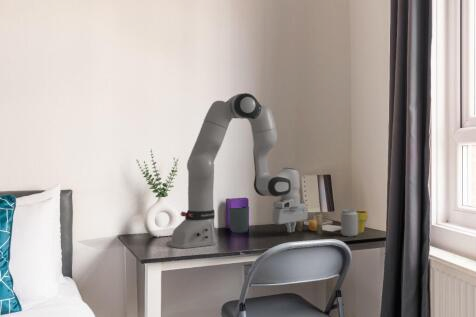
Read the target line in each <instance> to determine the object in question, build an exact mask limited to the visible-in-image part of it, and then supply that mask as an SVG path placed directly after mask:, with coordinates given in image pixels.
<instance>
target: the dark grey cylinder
mask: <svg viewBox="0 0 476 317" xmlns="http://www.w3.org/2000/svg"><path fill="white" fill-rule="evenodd" d="M241 206H242V208H230V207H231V206H228V212H229V224H230V225H229V226H230V227H229V228H230V232H231V231H232V233H247V232H248V231H249V212H250V206H248V205H247V206H246V205H241Z"/></svg>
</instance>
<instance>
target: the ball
mask: <svg viewBox="0 0 476 317" xmlns="http://www.w3.org/2000/svg"><path fill="white" fill-rule="evenodd" d="M308 229H309V230H310V231H311V232H317V219H311V220H310V221H309V222H308Z"/></svg>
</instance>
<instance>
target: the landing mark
mask: <svg viewBox="0 0 476 317" xmlns="http://www.w3.org/2000/svg"><path fill="white" fill-rule="evenodd" d="M322 231H324V232H336V231H341V225H334V224H333V225H332V224H322Z"/></svg>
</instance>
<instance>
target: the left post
mask: <svg viewBox="0 0 476 317" xmlns="http://www.w3.org/2000/svg"><path fill="white" fill-rule="evenodd" d="M303 222H304V221H298V222H296V225H297V230H296V231H300V232H301V231H303V229H304V226H303Z"/></svg>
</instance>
